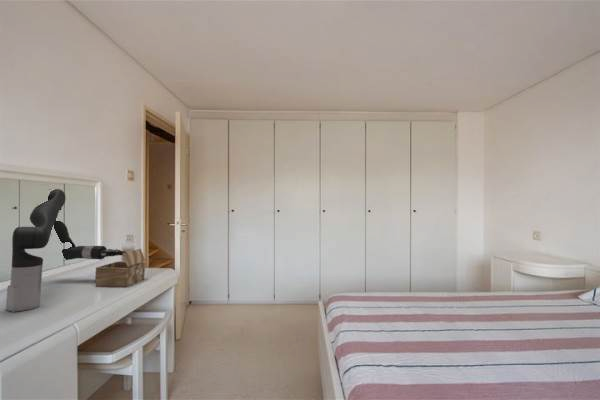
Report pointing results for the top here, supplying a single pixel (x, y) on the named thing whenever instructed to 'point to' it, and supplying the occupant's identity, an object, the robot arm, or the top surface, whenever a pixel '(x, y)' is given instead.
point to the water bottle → (127, 246)
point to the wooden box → (119, 274)
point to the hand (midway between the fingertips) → (125, 253)
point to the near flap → (133, 257)
